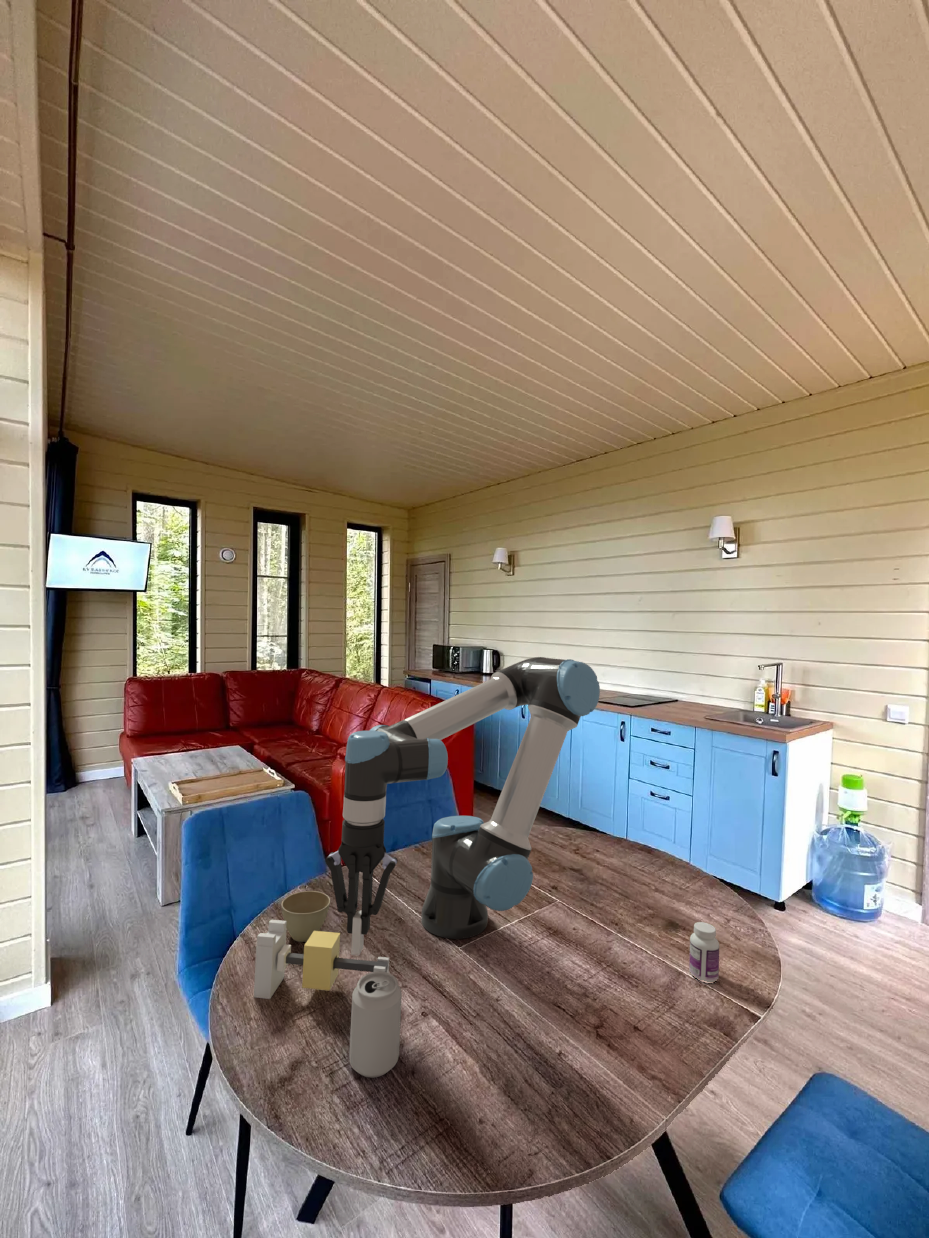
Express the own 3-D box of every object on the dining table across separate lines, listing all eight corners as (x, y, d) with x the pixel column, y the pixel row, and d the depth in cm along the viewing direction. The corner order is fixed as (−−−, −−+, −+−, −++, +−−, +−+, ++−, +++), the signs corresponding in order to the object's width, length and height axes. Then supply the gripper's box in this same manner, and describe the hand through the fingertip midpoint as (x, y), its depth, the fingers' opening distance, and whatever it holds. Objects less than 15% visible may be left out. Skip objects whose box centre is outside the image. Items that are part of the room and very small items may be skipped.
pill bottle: (716, 971, 110) (718, 923, 110) (719, 987, 105) (721, 936, 105) (687, 964, 112) (689, 917, 112) (689, 980, 107) (691, 930, 107)
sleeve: (338, 973, 101) (340, 932, 101) (329, 990, 96) (331, 947, 96) (312, 970, 101) (314, 930, 101) (302, 987, 96) (304, 945, 96)
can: (352, 1043, 87) (355, 967, 87) (399, 1042, 87) (402, 966, 88) (345, 1082, 79) (349, 999, 80) (397, 1081, 80) (401, 998, 80)
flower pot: (315, 952, 110) (317, 916, 110) (270, 944, 112) (272, 909, 112) (336, 926, 120) (338, 893, 120) (294, 919, 122) (296, 887, 122)
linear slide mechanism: (389, 987, 100) (391, 929, 101) (381, 1010, 94) (384, 948, 95) (268, 975, 102) (271, 918, 103) (253, 997, 96) (256, 936, 97)
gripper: (403, 814, 102) (397, 942, 101) (335, 809, 103) (328, 935, 102) (395, 828, 94) (388, 966, 94) (321, 823, 95) (314, 959, 95)
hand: (357, 950), depth 98 cm, fingers closed
